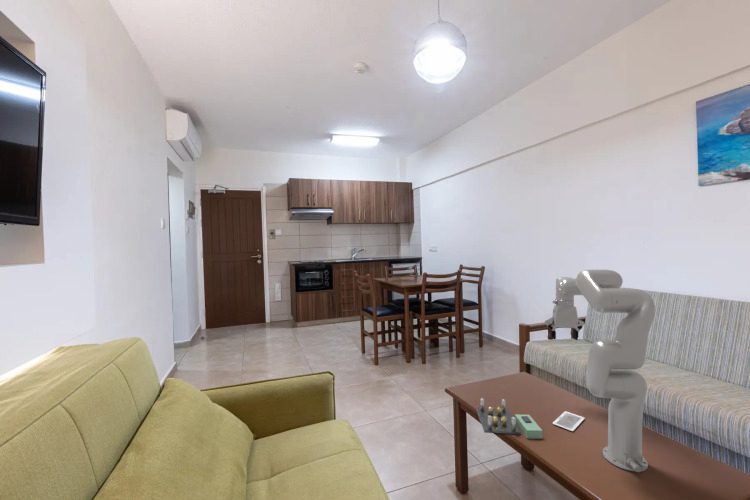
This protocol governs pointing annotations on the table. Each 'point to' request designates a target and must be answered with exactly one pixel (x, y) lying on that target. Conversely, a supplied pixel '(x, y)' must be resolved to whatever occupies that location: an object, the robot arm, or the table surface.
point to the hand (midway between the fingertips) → (564, 338)
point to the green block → (528, 426)
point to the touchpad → (568, 420)
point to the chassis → (497, 419)
